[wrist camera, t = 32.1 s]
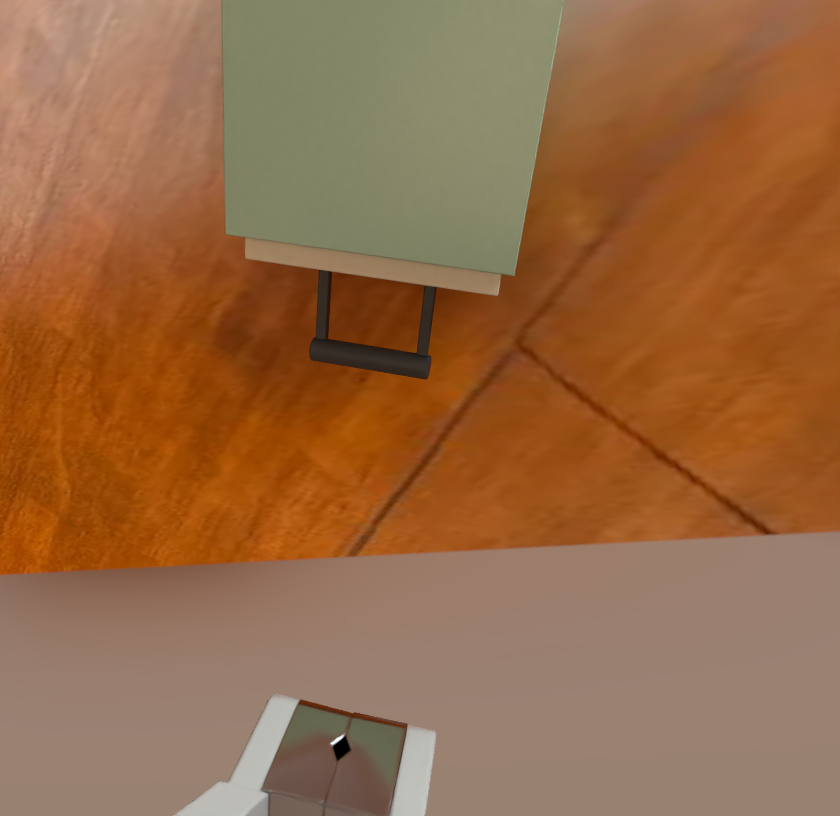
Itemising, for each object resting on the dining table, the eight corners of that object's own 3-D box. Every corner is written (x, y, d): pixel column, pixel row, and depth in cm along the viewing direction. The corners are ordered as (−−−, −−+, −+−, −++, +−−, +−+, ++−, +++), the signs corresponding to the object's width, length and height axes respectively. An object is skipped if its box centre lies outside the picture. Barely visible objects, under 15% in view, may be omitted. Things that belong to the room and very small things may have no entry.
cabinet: (514, 257, 34) (514, 276, 26) (292, 226, 36) (224, 234, 27) (573, -74, 28) (598, -190, 20) (302, -94, 29) (217, -210, 21)
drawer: (486, 363, 36) (479, 401, 29) (293, 332, 37) (244, 361, 31) (553, -27, 28) (565, -97, 21) (304, -48, 29) (243, -120, 23)
